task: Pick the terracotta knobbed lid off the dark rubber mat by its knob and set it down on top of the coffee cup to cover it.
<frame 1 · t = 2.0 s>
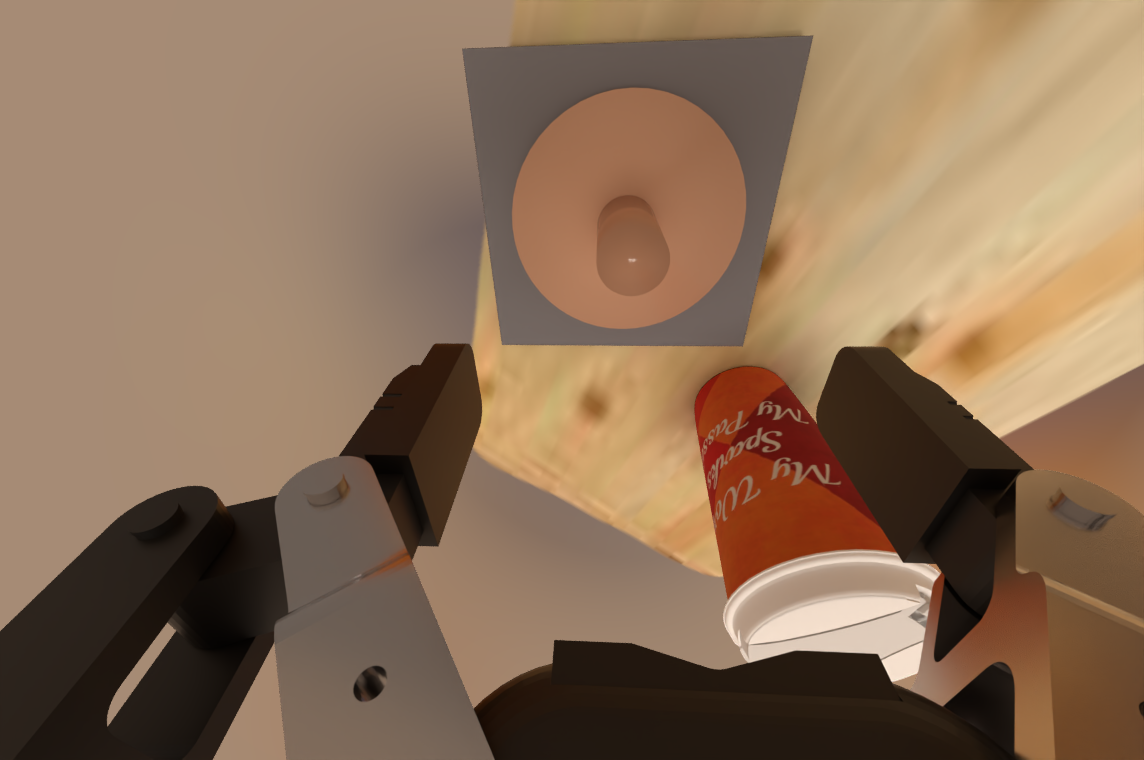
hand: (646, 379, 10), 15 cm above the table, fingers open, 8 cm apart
lid: (625, 221, 21), point 1 cm above the table, touching mat
mat: (624, 216, 22), on the table
coffee cup: (738, 402, 29), on the table
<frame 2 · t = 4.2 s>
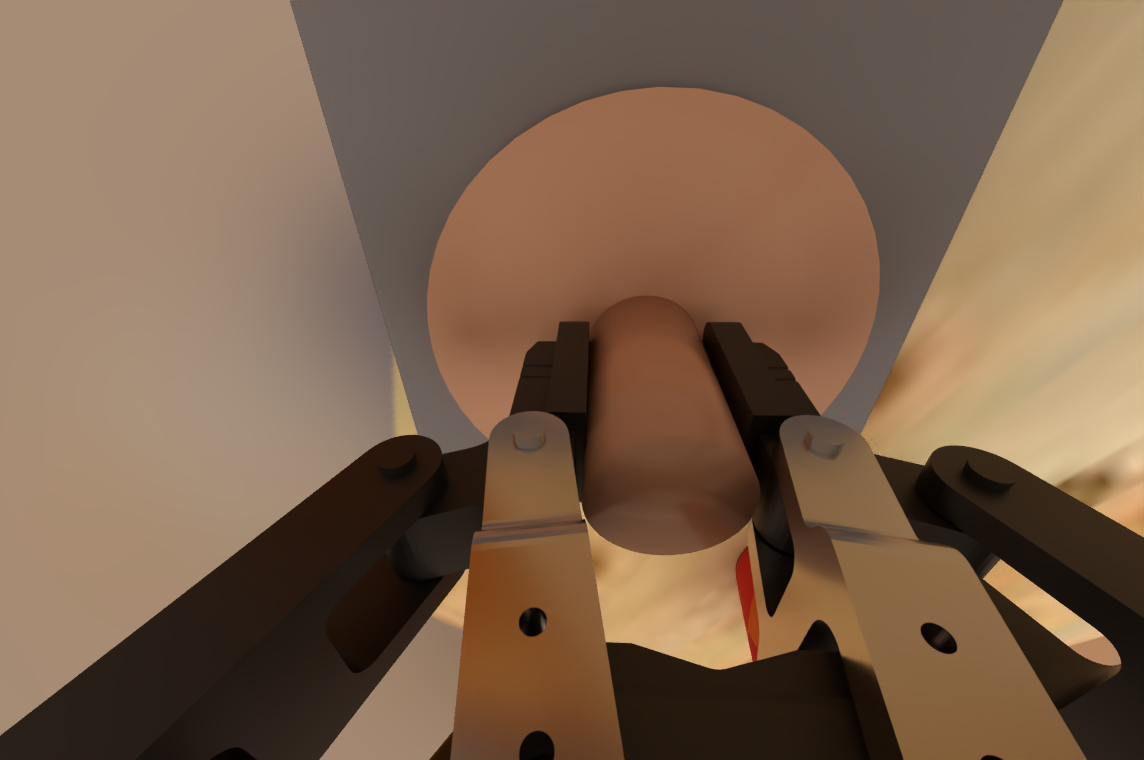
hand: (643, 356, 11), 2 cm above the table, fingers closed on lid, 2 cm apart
lid: (640, 331, 12), point 1 cm above the table, touching gripper, mat
mat: (636, 315, 13), on the table
coffee cup: (802, 561, 19), on the table
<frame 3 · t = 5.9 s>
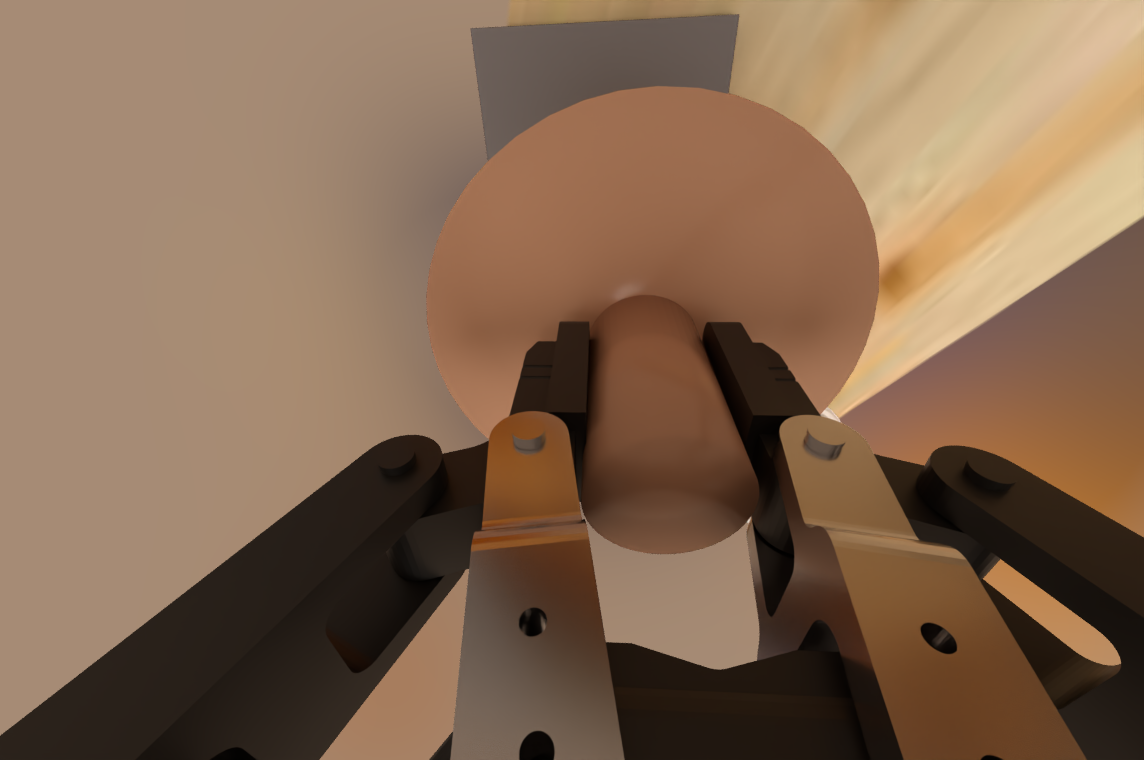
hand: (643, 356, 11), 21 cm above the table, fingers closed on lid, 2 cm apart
lid: (639, 331, 12), point 20 cm above the table, touching gripper
mat: (601, 166, 27), on the table
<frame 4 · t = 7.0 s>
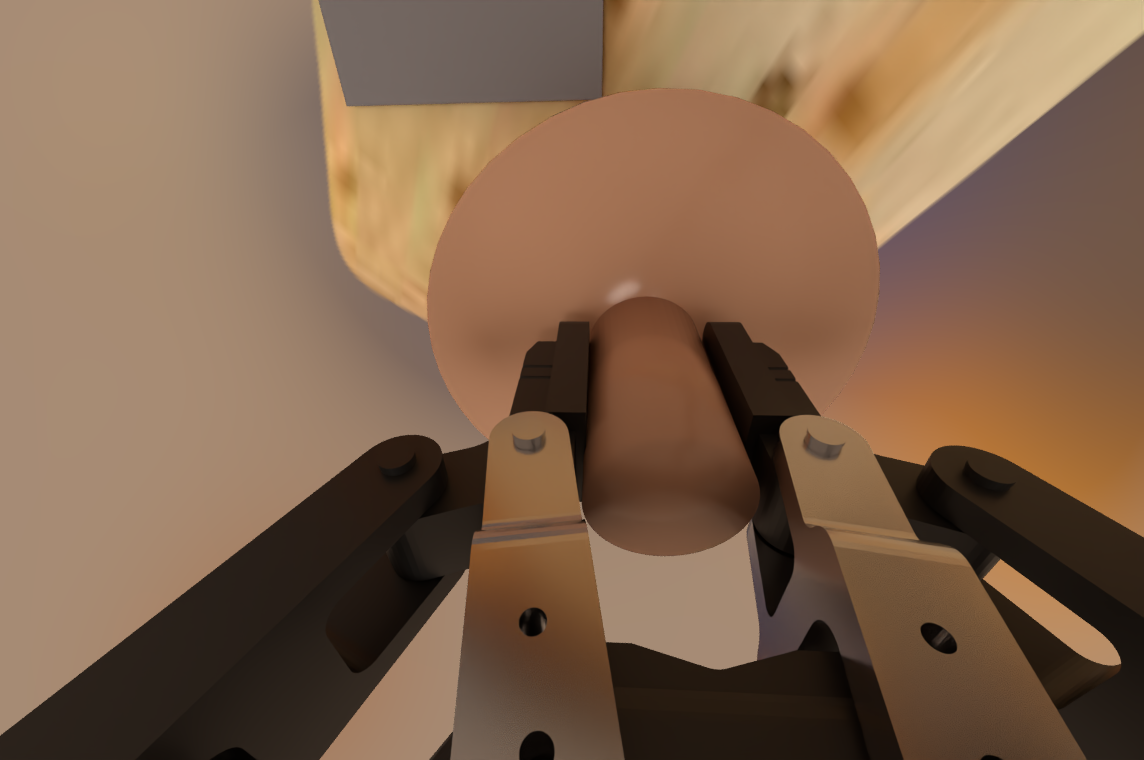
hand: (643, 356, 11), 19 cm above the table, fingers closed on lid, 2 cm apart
lid: (640, 332, 12), point 18 cm above the table, touching gripper
when the fingers open (18 cm above the table, at t = 7.9 s): lid drops 1 cm, resting on coffee cup.
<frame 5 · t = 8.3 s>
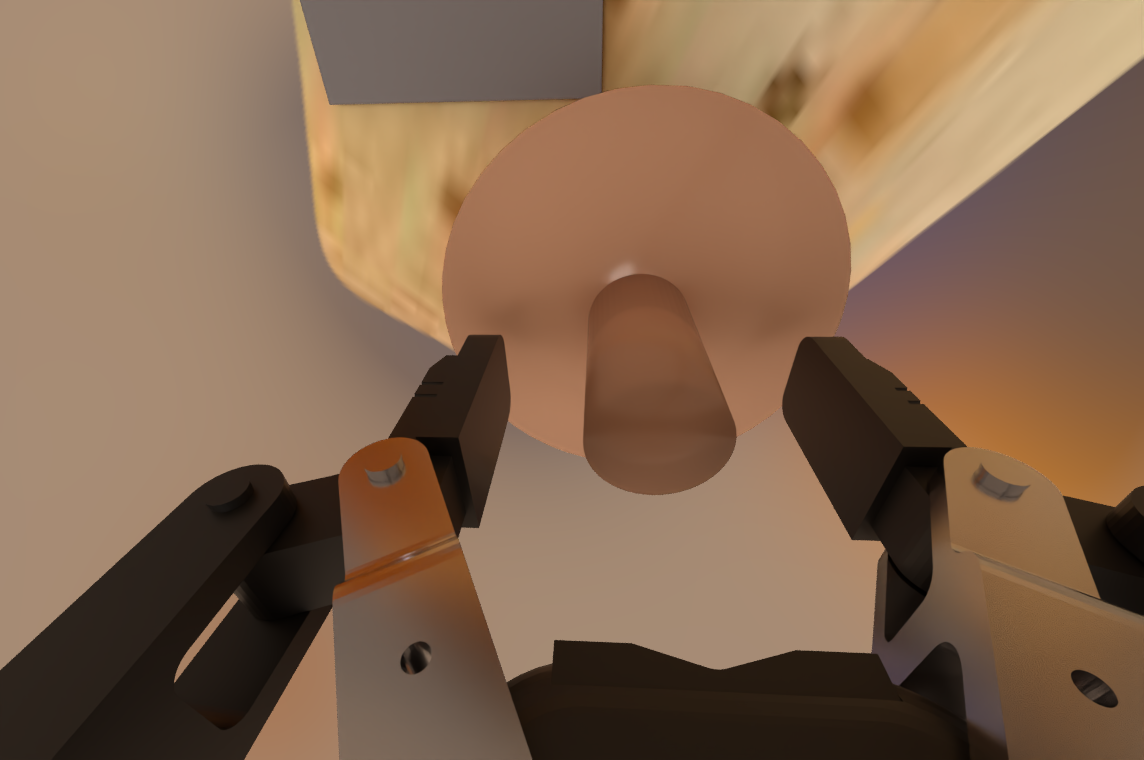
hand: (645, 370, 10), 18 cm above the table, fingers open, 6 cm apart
lid: (636, 309, 13), point 15 cm above the table, touching coffee cup
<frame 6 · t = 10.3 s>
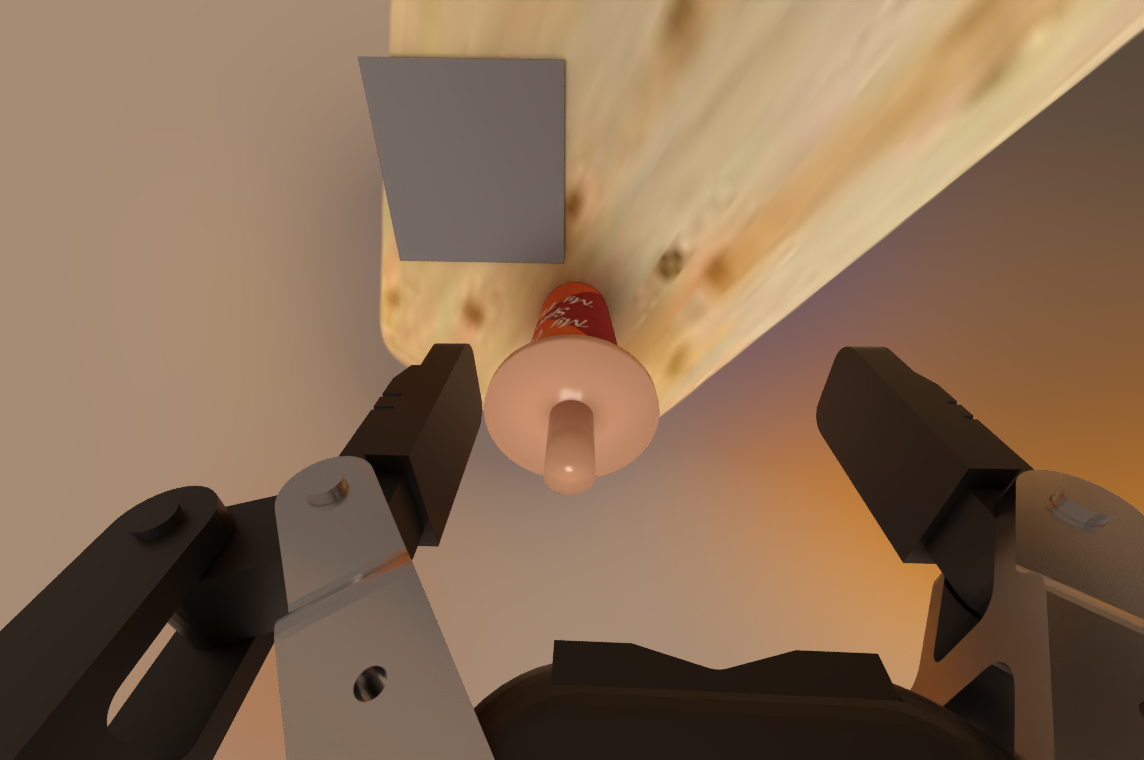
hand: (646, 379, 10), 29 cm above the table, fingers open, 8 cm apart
lid: (571, 410, 28), point 15 cm above the table, touching coffee cup
mat: (475, 170, 34), on the table
coffee cup: (574, 312, 41), on the table, touching lid
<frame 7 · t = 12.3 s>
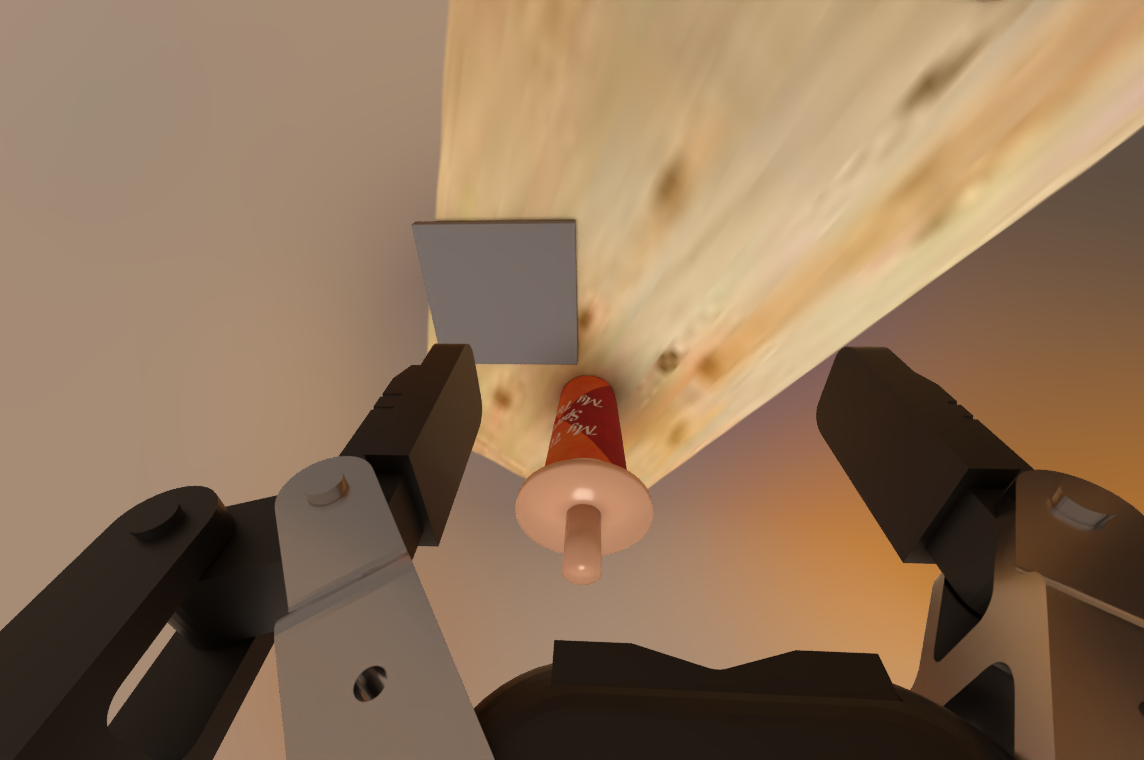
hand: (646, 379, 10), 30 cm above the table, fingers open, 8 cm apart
lid: (584, 507, 35), point 15 cm above the table, touching coffee cup
mat: (503, 296, 41), on the table
coffee cup: (587, 397, 48), on the table, touching lid
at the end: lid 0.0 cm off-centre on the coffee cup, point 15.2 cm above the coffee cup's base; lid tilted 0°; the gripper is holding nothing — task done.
